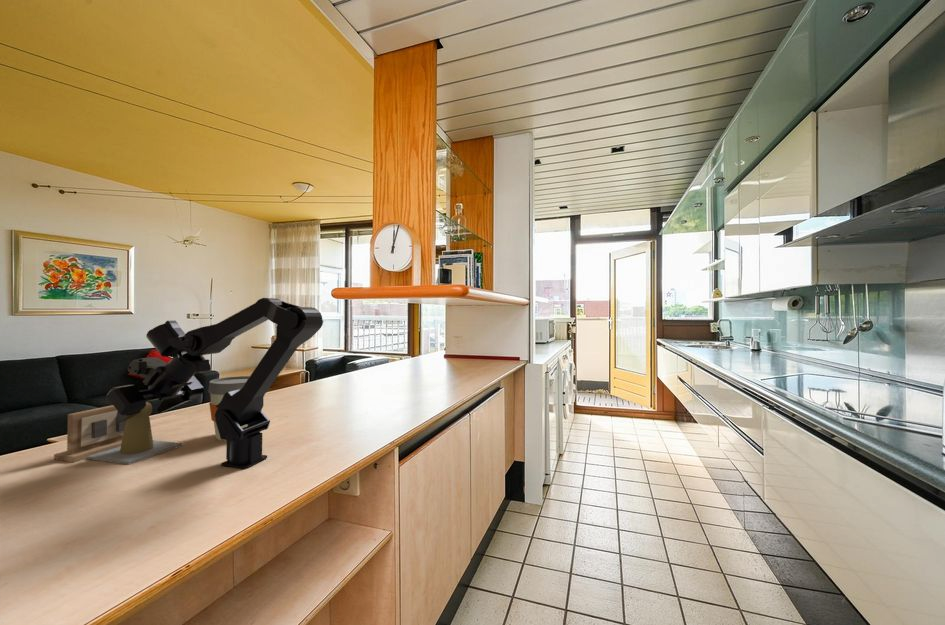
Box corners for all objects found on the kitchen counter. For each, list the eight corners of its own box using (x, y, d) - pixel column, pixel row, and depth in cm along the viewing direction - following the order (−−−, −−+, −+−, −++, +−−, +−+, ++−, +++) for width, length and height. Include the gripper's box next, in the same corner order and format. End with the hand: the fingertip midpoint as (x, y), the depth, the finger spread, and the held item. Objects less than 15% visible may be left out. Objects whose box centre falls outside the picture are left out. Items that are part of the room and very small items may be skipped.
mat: (182, 445, 94) (182, 443, 94) (129, 464, 82) (129, 461, 82) (143, 441, 96) (143, 439, 96) (87, 459, 85) (87, 456, 85)
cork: (128, 455, 85) (129, 407, 85) (114, 451, 88) (115, 404, 88) (159, 447, 91) (160, 401, 91) (145, 443, 93) (146, 399, 93)
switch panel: (150, 438, 98) (151, 400, 98) (74, 462, 83) (75, 416, 83) (132, 437, 100) (133, 399, 100) (53, 459, 84) (54, 414, 84)
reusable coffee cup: (272, 431, 106) (273, 378, 106) (227, 446, 94) (228, 385, 94) (242, 425, 111) (243, 374, 111) (196, 438, 99) (197, 381, 99)
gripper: (194, 343, 98) (158, 384, 99) (114, 349, 79) (71, 400, 81) (220, 374, 96) (183, 416, 98) (145, 388, 78) (101, 439, 80)
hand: (139, 416), depth 89 cm, fingers open, 9 cm apart
